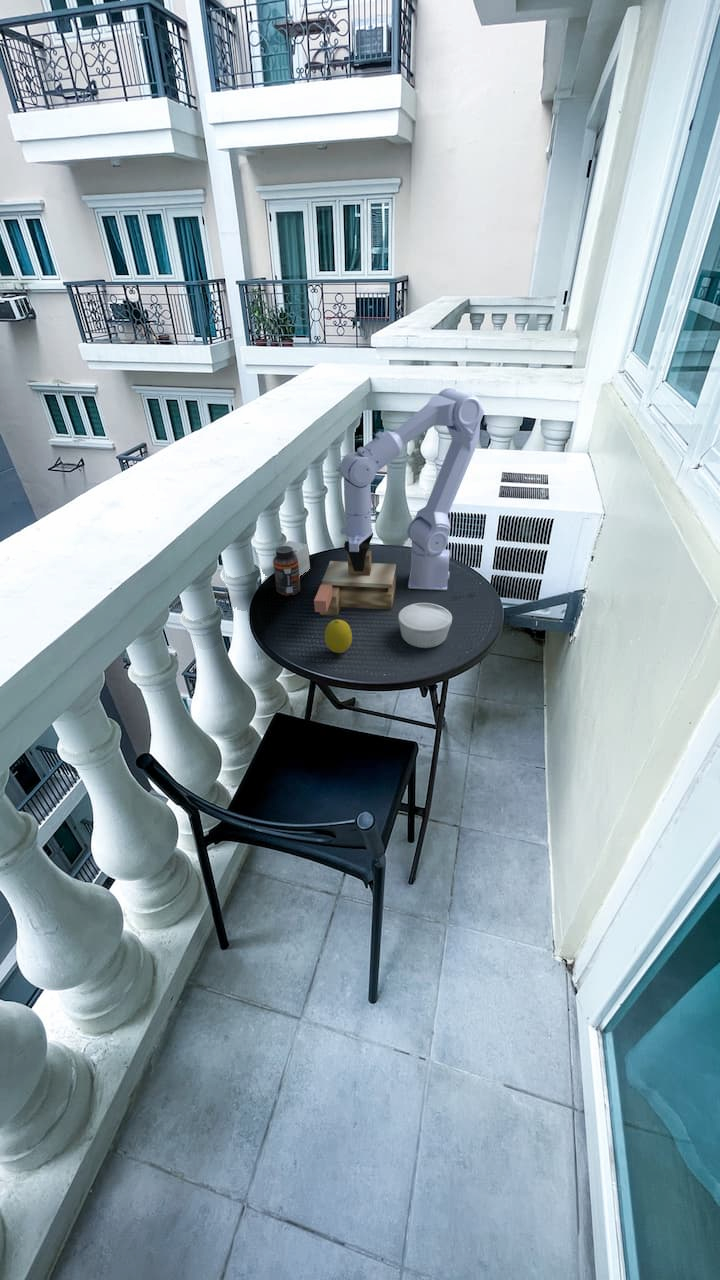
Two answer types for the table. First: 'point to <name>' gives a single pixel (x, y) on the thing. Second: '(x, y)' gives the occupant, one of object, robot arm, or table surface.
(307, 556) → the skincare box
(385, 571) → the lid
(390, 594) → the beige wooden shallow box
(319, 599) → the reddish-pink rectangular block
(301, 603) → the table surface
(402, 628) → the ramekin
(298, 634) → the table surface
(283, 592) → the supplement bottle
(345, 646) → the lemon
